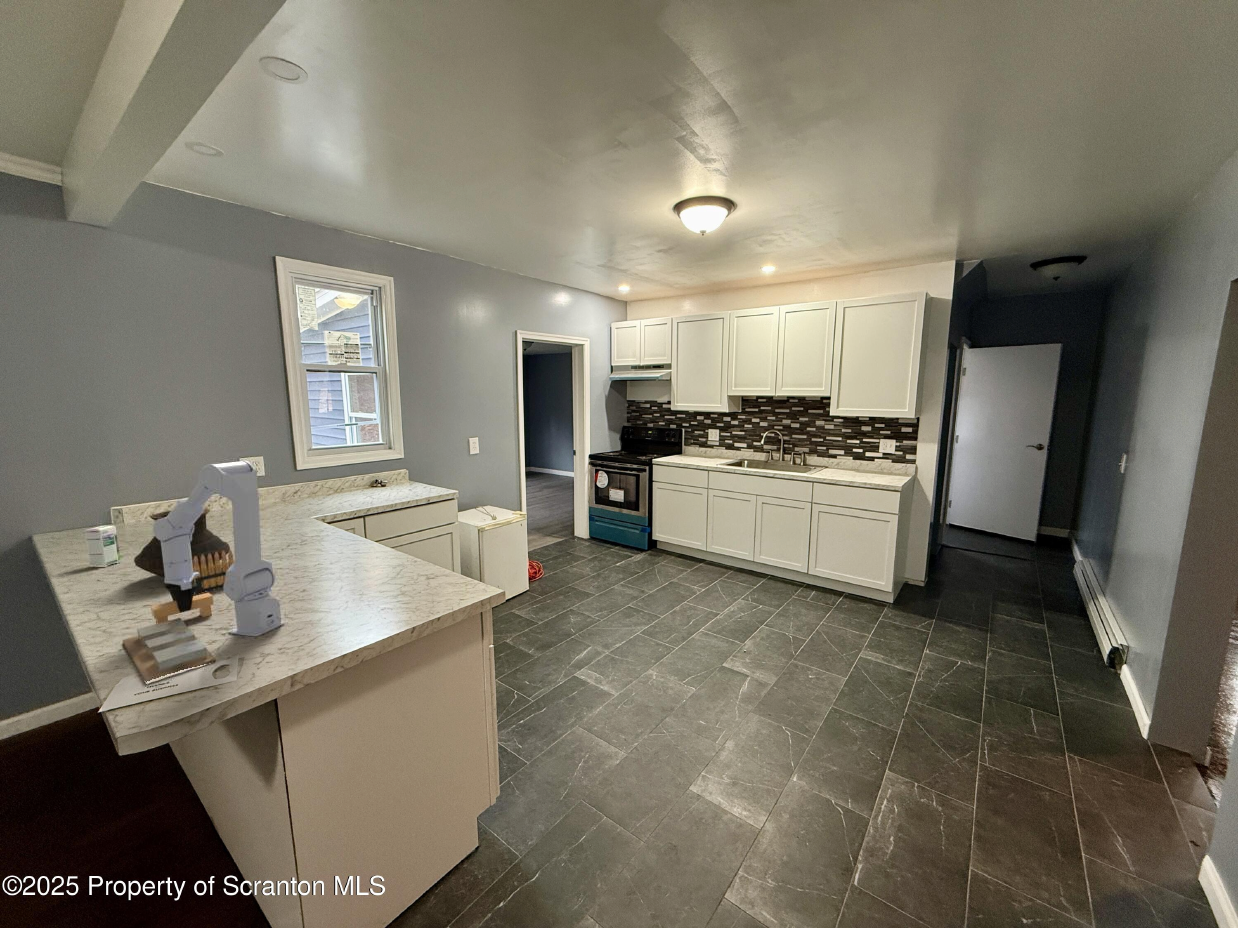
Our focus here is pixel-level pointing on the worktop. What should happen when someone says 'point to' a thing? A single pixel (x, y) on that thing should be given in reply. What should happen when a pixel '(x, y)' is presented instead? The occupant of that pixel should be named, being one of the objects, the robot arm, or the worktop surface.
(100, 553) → the syrup box
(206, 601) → the tan rectangular plank
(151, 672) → the rail base
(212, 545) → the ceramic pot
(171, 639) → the rail
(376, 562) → the worktop surface
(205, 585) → the ammunition clip
